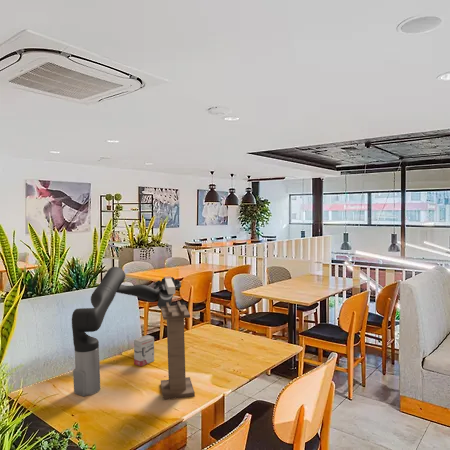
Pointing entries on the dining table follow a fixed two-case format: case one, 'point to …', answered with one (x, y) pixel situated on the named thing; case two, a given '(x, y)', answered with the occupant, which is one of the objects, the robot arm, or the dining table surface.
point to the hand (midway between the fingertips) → (168, 279)
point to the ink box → (143, 350)
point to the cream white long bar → (169, 285)
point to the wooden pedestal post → (176, 353)
